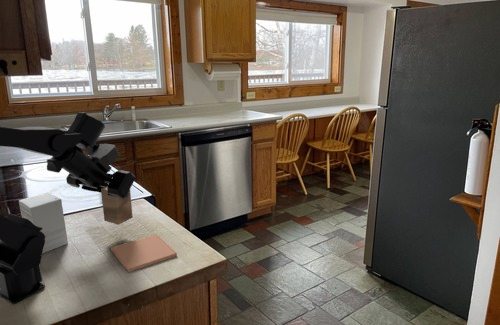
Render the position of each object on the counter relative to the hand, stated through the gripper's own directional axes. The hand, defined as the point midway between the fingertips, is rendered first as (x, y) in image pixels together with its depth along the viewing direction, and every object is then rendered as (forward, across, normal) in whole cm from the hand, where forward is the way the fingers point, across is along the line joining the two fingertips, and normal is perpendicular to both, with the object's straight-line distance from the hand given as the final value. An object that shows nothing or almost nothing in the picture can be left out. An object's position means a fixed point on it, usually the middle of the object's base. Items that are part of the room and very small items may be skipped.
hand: (120, 194), depth 97 cm
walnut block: (+4, 0, +6) cm, 7 cm away
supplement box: (-1, +13, +18) cm, 22 cm away
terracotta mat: (+4, -12, +12) cm, 17 cm away
